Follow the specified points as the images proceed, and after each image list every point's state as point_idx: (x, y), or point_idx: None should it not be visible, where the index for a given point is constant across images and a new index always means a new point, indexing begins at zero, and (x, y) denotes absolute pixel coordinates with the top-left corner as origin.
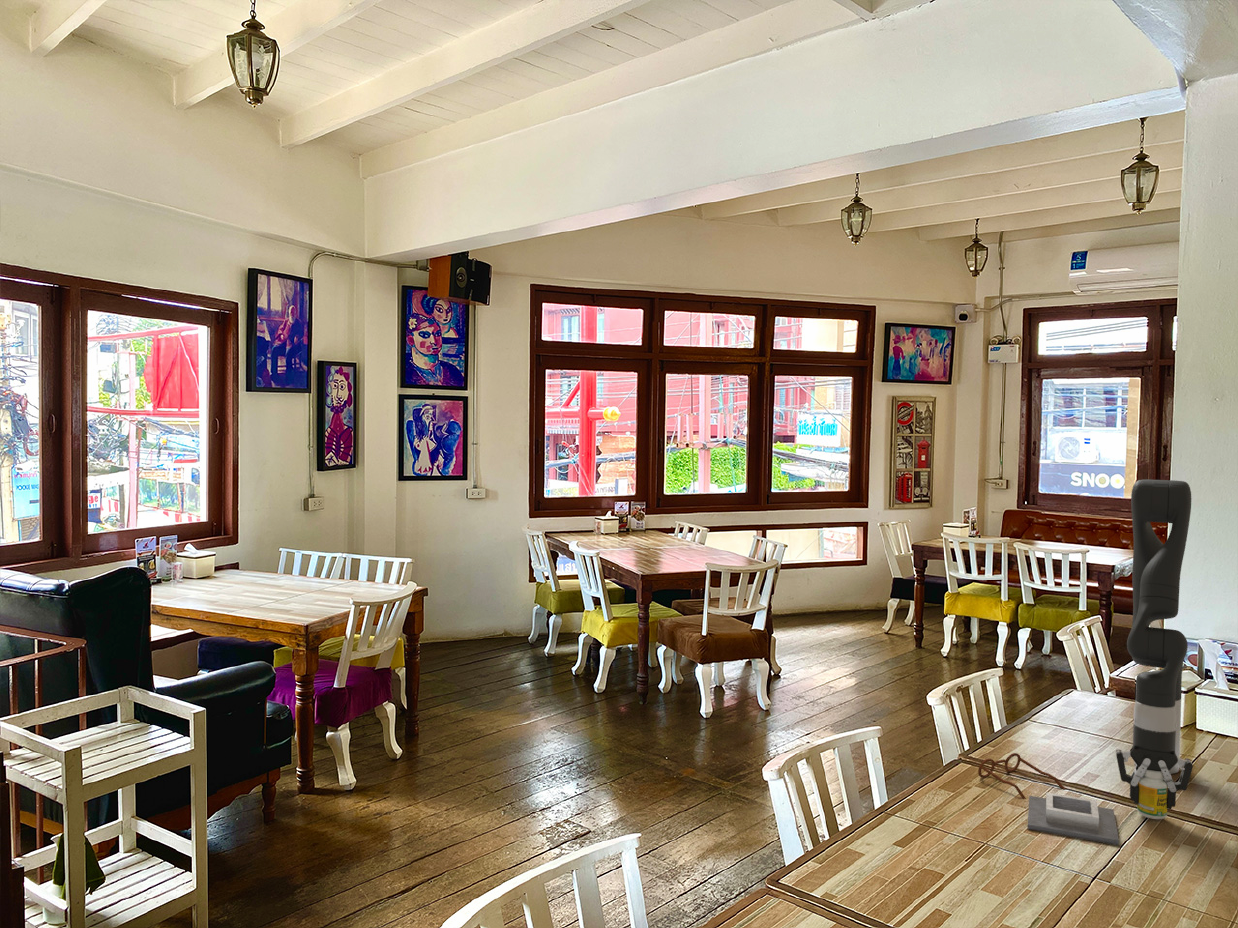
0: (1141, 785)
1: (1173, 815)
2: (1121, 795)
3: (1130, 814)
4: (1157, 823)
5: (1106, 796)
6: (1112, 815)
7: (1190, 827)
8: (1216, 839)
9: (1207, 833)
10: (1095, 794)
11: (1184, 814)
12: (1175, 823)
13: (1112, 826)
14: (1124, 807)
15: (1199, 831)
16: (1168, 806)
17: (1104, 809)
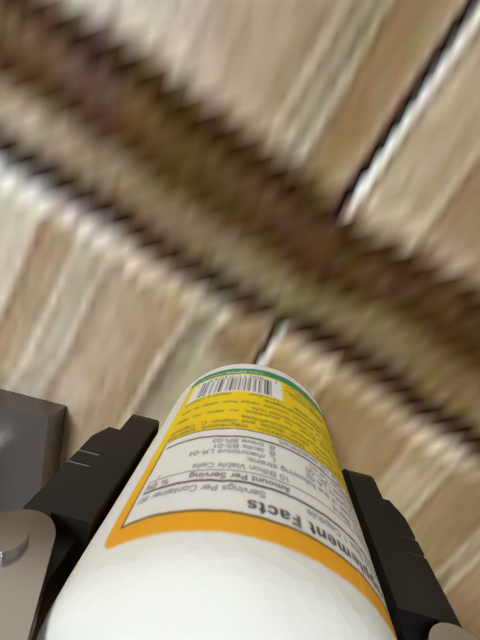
0: None
1: (391, 357)
2: (176, 77)
3: (151, 391)
4: None
5: (76, 130)
6: (30, 495)
7: (408, 499)
8: (469, 607)
9: (462, 553)
10: (15, 111)
11: (470, 327)
12: (350, 463)
13: None
14: (144, 297)
15: (432, 537)
16: None
17: (2, 428)
